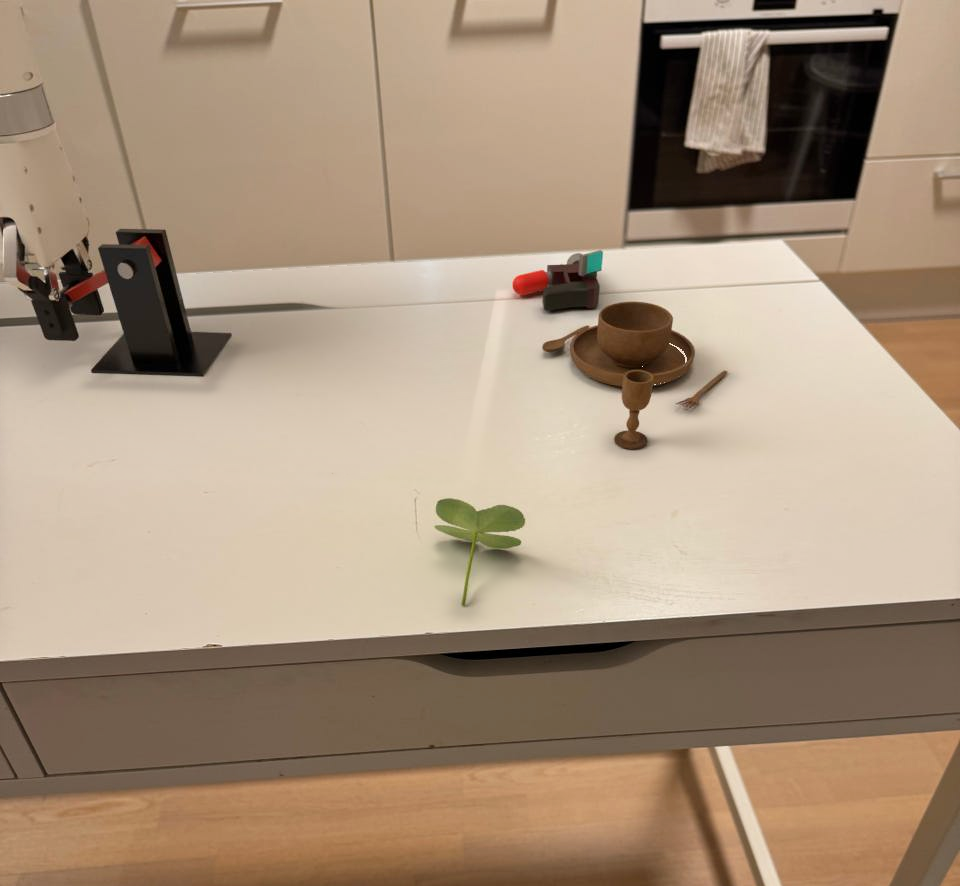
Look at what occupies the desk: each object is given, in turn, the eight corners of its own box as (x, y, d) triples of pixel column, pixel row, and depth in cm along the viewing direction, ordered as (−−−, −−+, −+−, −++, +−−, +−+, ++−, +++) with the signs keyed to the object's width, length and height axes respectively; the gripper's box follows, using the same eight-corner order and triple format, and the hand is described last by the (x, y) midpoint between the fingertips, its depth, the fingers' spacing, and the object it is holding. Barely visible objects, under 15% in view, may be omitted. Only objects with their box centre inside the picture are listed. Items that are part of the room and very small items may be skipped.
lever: (58, 323, 82) (39, 300, 80) (80, 302, 85) (63, 279, 84) (148, 275, 78) (130, 249, 76) (167, 254, 81) (150, 230, 80)
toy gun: (589, 270, 102) (592, 227, 99) (605, 312, 94) (609, 266, 90) (507, 273, 102) (508, 230, 99) (516, 315, 93) (517, 269, 90)
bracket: (94, 381, 83) (51, 255, 75) (130, 341, 90) (94, 220, 82) (205, 385, 82) (173, 257, 74) (233, 344, 89) (207, 222, 81)
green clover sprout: (466, 628, 64) (481, 546, 66) (537, 616, 58) (552, 526, 60) (386, 597, 60) (404, 511, 62) (453, 581, 54) (472, 486, 56)
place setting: (741, 365, 84) (754, 305, 80) (643, 455, 72) (652, 390, 68) (586, 322, 92) (590, 265, 88) (474, 397, 80) (473, 335, 76)
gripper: (9, 89, 78) (76, 291, 91) (-99, 139, 66) (-5, 365, 78) (89, 90, 78) (145, 292, 90) (-5, 140, 65) (75, 367, 78)
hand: (75, 324), depth 84 cm, fingers closed on lever, 5 cm apart
